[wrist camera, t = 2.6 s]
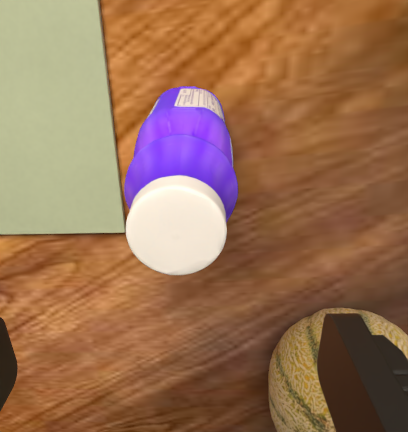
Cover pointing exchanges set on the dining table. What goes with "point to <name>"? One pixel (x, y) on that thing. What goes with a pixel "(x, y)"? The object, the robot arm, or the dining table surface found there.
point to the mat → (56, 121)
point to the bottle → (181, 183)
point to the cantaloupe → (311, 371)
